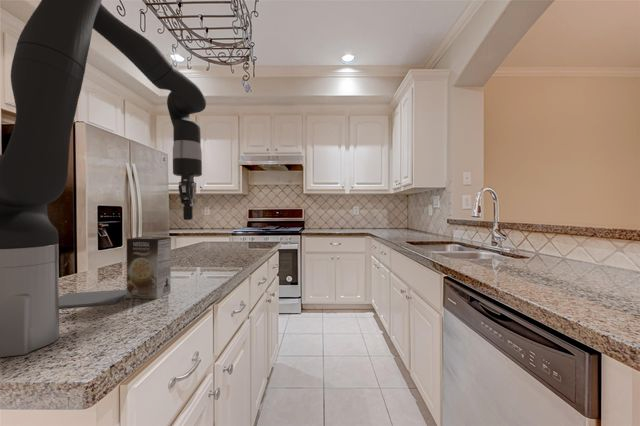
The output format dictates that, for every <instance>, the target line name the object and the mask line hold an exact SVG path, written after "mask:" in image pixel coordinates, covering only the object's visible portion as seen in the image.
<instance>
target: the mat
mask: <svg viewBox="0 0 640 426" xmlns="http://www.w3.org/2000/svg"><path fill="white" fill-rule="evenodd" d="M126 297H127V288H125V289H113V290H112V289H111V290H100V291H99V290H97V291H85V292H84V291H83V292H70V293H69V292H68V293H65V294H63V295H61V296H60V295H59V309H66V308H67V309H68V308H80V307H93V306H95V307H96V306H104V305H106V306H107V305H116V304H117V303H118V302H120V301H121V300H123V299H124V298H126Z"/></svg>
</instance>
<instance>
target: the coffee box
mask: <svg viewBox="0 0 640 426" xmlns="http://www.w3.org/2000/svg"><path fill="white" fill-rule="evenodd" d="M171 271H172V238H171V236H146V235H145V236H144V235H143V236H137V237H130V238H127V239H126V289H127V296H126V298H128V299H130V298H131V299H150V300H151V299H152V300H157V299H160V298H162V297H164V296H166V295H169V294H171V293H172V292H171V291H172V288H171V287H172V286H171V283H172V281H171V279H172V276H171V275H172V273H171Z"/></svg>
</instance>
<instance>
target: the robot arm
mask: <svg viewBox="0 0 640 426" xmlns="http://www.w3.org/2000/svg"><path fill="white" fill-rule="evenodd" d="M102 1H103V0H40V2H39V4H38V5H37V6H36V8H35V9H34V11H33V13H32V14H31V16H30V17H29V19H28V20H27V22H26V23H25V24H24V27H23V29H22V31H21V32H20V34H19V37H18V40H17V42H16V47H15V50H14V54H13V56H12V61H11V68H10V85H11V90H12V95H13V98H14V104H15V121H14V126H13V128H12V131H11V135H10V138H9V141H8V142H7V143H8V144H7V146H6V149H4V150H5V151H4V153H3V154H0V358H4V357H5V358H6V357H15V356H22V355H27V354H29V353H31V352H32V351H35V350H38V349H40V348H44V347H45V346H49V345H50V344H52V343H54V342H56V341H57V340H59V338H60V308H59V297H60V291H59V290H60V288H59V287H60V283H59V282H60V278H59V277H60V276H59V275H60V272H59V271H60V270H59V268H60V266H59V264H60V263H59V259H60V256H59V255H60V253H59V252H60V251H59V247H60V246H59V231H58V229H57V228H56V227H55V226H54V225H53V224H52V222H51V220H50V219H49V215H48V204H51V203H53V202H55V201H56V200H57V199H58V198H60V197H61V195H62V194H63V193H64V191H65V189H66V187H67V182H68V173H69V158H70V145H71V144H70V142H71V137H72V136H71V135H72V130H73V125H74V122H75V117H76V113H77V107H78V102H79V98H80V96H81V91H82V86H83V83H84V78H85V73H86V67H87V61H88V55H89V51H90V45H91V41H92V36H93V35H92V34H93V30H94V31H95V32H96V33H98V34H99V35H100V36H101V37H103V38H104V39H105V40H107V42H109V43H110V44H111V45H112V46H114V47H115V48H116V49H117V50H118V51H119V52H121V54H123V55H124V57H125V58H127V59H128V60H129V61H130V62H131V63H132V64H133V65H134V66H135V67H136V68H137V69H138V70H139V71H140V72H141V73H142V75H143V76H145V77H146V78H147V80H149V82H151V83H152V84H153V86H155V87H156V88H158V89H159V90H166V91H170V92H169V93H168V95H167V98H166V99H167V100H166V104H167V110H168V114H169V117H170V121H171V124H172V128H173V134H172V135H173V137H172V138H173V145H172V174H173V175H174V176H175V177H180V181H178V186H177V187H178V191H179V198H180V204H181V206H182V207H183V209H182V211H183V212H182V213H183V220H185V221H186V220H187V221H189V220H190V221H191V220H193V218H194V217H193V216H194V214H193V213H194V211H193V210H194V209H193V207H194V205H195V202H196V201H195V200H196V192H197V183H196V182H195V179H194V178H195V177H196V178H197V177H201V176H203V166H202V165H203V161H202V160H203V158H202V157H203V156H202V155H203V153H202V152H203V151H202V145H201V143H202V142H201V141H202V140H201V137H202V136H201V127H200V125H199V124H198V123H197V122H195V121H194V120H191V118H190V115H191V114H197V113H201V112H203V111H204V110H205V109H206V106H207V99H206V96H205V94H204V93H203V91H202V90H201V88H200V87H199V86H198V85H197V84H196V83H195V82H193V81H192V80H191V79H190V78H189V77H187V76H186V75H185V74H183V73H182V72H180V71H179V70H177V69H176V67H174V65H173V64H172V63H171V61H169V60H168V58H167V57H166V56H165V54H164V53H163V52H162V51H161V50H160V49H159V48H158V47H157V46H156V45H155V44H154V43H153V42H152V41H150V40H149V39H147V38H146V37H145V36H144V35H142V34H141V33H139V31H136V30H134V28H131V27H130V26H128V25H127V24H125V23H124V22H122V20H120V19H119V18H117V17H116V16H115V15H113V13H111V12H110V10H108V9H107V7H105V6H104V5H103V4H102Z"/></svg>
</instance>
